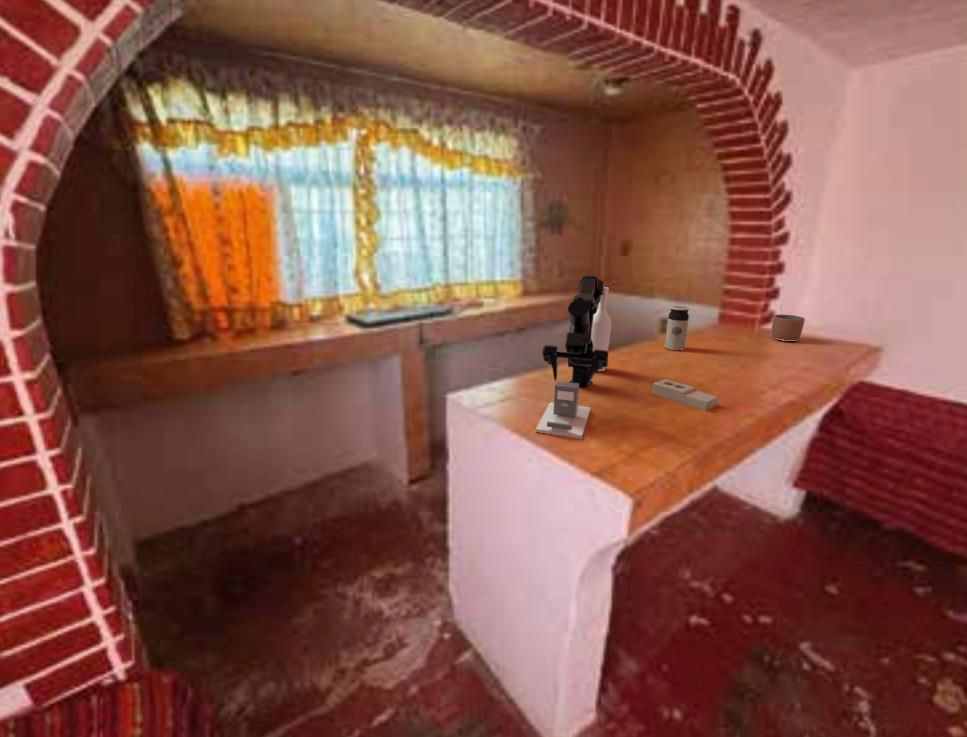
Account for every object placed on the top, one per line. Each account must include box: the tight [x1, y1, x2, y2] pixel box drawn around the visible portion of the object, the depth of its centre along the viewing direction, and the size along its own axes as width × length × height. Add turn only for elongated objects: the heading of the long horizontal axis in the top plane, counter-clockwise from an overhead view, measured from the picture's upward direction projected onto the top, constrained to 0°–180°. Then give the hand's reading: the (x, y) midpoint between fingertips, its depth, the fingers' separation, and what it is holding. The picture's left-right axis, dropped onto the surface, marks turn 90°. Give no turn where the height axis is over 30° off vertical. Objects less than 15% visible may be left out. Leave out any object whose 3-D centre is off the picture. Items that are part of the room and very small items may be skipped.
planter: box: [771, 314, 806, 341], centre depth 224 cm, size 12×12×11 cm
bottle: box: [591, 286, 612, 372], centre depth 177 cm, size 8×8×30 cm
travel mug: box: [664, 305, 690, 351], centre depth 207 cm, size 8×8×18 cm
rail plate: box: [535, 402, 591, 440], centre depth 135 cm, size 20×12×3 cm, turn 162°
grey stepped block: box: [651, 378, 719, 412], centre depth 152 cm, size 7×4×18 cm
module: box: [553, 380, 580, 417], centre depth 134 cm, size 5×6×8 cm
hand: (571, 382), depth 138 cm, fingers open, 9 cm apart
